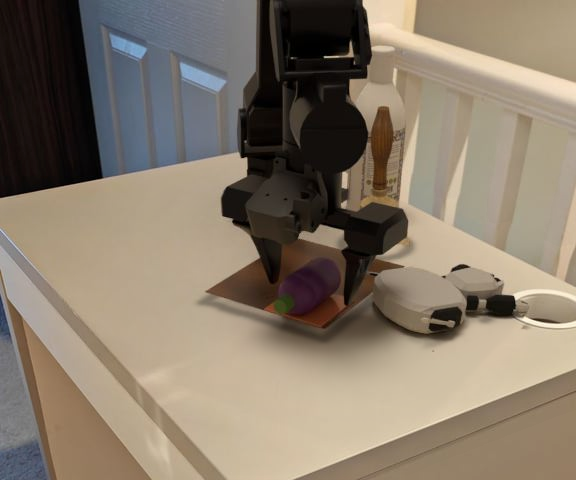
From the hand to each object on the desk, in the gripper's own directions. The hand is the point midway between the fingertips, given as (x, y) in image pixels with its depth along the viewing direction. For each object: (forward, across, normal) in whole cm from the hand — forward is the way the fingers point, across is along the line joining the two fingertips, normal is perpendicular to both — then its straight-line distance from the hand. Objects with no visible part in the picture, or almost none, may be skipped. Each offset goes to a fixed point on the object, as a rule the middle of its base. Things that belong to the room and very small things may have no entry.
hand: (310, 293), depth 87 cm
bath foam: (+3, -8, +28) cm, 30 cm away
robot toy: (+3, +12, +8) cm, 14 cm away
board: (+3, -4, +6) cm, 7 cm away
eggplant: (+1, 0, 0) cm, 1 cm away
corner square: (+1, 0, 0) cm, 1 cm away
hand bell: (+3, -3, +20) cm, 21 cm away
